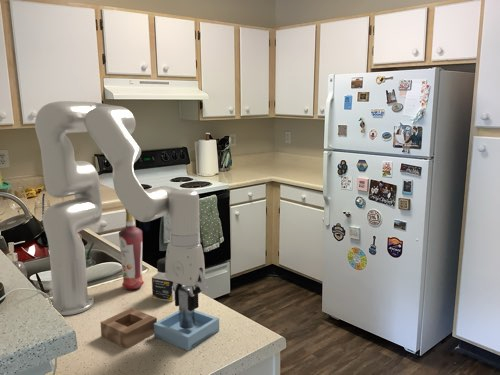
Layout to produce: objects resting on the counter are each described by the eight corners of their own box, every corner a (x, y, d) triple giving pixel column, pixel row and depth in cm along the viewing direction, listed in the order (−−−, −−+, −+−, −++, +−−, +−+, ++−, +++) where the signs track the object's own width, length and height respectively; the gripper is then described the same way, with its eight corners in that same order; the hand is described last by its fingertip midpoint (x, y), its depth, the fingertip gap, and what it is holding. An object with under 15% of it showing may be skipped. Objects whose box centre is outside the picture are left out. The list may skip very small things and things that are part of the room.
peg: (176, 325, 116) (175, 289, 114) (186, 319, 119) (185, 284, 117) (187, 330, 113) (186, 293, 112) (198, 324, 117) (197, 288, 115)
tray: (154, 336, 115) (153, 323, 115) (185, 318, 125) (185, 306, 124) (188, 350, 108) (188, 337, 108) (219, 330, 118) (219, 318, 118)
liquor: (149, 286, 146) (145, 203, 141) (130, 293, 141) (126, 207, 136) (135, 281, 151) (132, 200, 146) (117, 287, 146) (112, 204, 140)
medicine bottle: (152, 298, 138) (150, 261, 135) (164, 289, 144) (162, 254, 142) (172, 302, 135) (171, 264, 133) (183, 292, 142) (182, 257, 140)
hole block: (101, 336, 115) (100, 322, 114) (131, 321, 123) (131, 308, 122) (127, 348, 109) (126, 333, 109) (157, 331, 117) (156, 317, 117)
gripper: (150, 236, 114) (153, 303, 117) (200, 248, 104) (201, 321, 108) (171, 230, 120) (173, 294, 123) (220, 240, 110) (221, 309, 114)
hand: (186, 306), depth 115 cm, fingers closed on peg, 4 cm apart
